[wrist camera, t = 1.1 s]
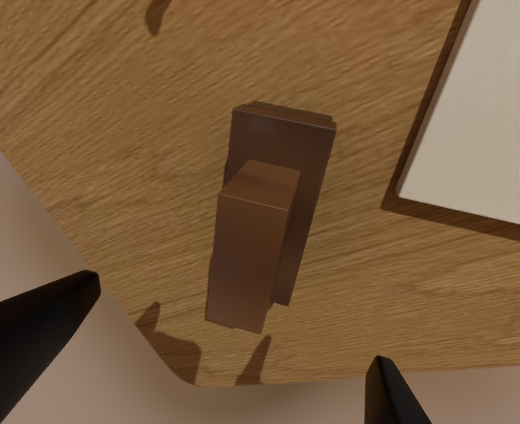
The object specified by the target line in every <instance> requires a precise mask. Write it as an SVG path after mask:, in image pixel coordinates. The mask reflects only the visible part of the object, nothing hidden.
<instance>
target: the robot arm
mask: <svg viewBox="0 0 520 424" xmlns="http://www.w3.org/2000/svg"><path fill="white" fill-rule="evenodd" d="M100 294H101V288H100V281H99V275H98V274H97V273H96V272H93V271H90V270H83V271H80V272H77V273H74V274H72V275H69V276H67V277H64V278H61V279H59V280H56V281H54V282H51V283H48V284H46V285H43V286H40V287H38V288H35V289H33V290H30V291H27V292H25V293H22V294H19V295H17V296H14V297H11V298H9V299H6V300H4V301H1V302H0V423H1V422H2V421H3V420H4V419H5V418H6V416H7V415H8V414H9V413H10V412H11V410H12V409H13V408H14V407H15V405H16V404H17V403H18V402H19V401H20V400H21V398H22V397H23V396H24V395H25V393H26V392H27V391H28V390H29V389H30V387H31V386H32V385H33V384H34V383H35V381H36V380H37V379H38V378H39V376H40V375H41V374H42V373H43V372H44V371H45V369H46V368H47V367H48V366H49V364H50V363H51V362H52V361H53V360H54V358H55V357H56V356H57V355H58V354H59V353H60V351H61V350H62V349H63V348H64V347H65V345H66V344H67V343H68V341H69V340H70V339H71V338H72V336H73V335H74V333H75V332H76V331H77V329H78V328H79V326H80V325H81V323H82V322H83V320H84V319H85V317H86V316H87V314H88V313H89V312H90V310H91V309H92V307H93V306H94V304H95V303H96V301H97V300H98V298H99V296H100ZM364 422H365V423H364V424H432V423H431V421H430V420H429V418H428V417H427V415H426V414H425V412H424V410H423V409H422V407H421V405H420V404H419V402H418V401H417V399H416V398H415V396H414V394H413V393H412V391H411V389H410V388H409V386H408V385H407V383H406V381H405V380H404V378H403V377H402V375H401V373H400V372H399V370H398V369H397V367H396V366H395V364H394V362H393V361H392V360H391V359H389V358H386V357H383V356H379V355H377V356H376V357H375V358H374V360H373V362H372V363H371V365H370V367H369V369H368V371H367V374H366V381H365V421H364Z"/></svg>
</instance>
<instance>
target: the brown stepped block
mask: <svg viewBox="0 0 520 424" xmlns="http://www.w3.org/2000/svg"><path fill="white" fill-rule="evenodd" d="M335 134H336V123H335V122H332V116H328V115H323V114H318V113H313V112H308V111H303V110H298V109H293V108H288V107H282V106H277V105H272V104H267V103H262V102H257V101H254V102H252V103H250V104H248V105H245V104H242V105H240V106H238V107H235V108H233V112H232V122H231V132H230V142H229V151H228V161H227V171H226V181H225V187H224V188H223V189H222V190H221V191H220V192H219V193H218V201H217V212H216V223H215V235H214V246H213V257H212V268H211V279H210V290H209V301H208V312H207V319H210V320H213V321H216V322H220V323H223V324H226V325H230V326H233V327H236V328H240V329H243V330H246V331H250V332H253V333H256V334H261V332H262V329H263V325H264V321H265V318H266V314H267V311H268V307H269V303H270V301H271V302H274V303H278V304H281V305H285V306H289V303H290V299H291V295H292V292H293V288H294V284H295V281H296V277H297V273H298V270H299V266H300V262H301V259H302V255H303V251H304V248H305V244H306V240H307V237H308V233H309V229H310V226H311V222H312V218H313V215H314V211H315V207H316V204H317V200H318V196H319V193H320V189H321V185H322V182H323V178H324V174H325V171H326V167H327V163H328V160H329V156H330V152H331V149H332V145H333V141H334V138H335Z"/></svg>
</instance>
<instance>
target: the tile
mask: <svg viewBox="0 0 520 424" xmlns="http://www.w3.org/2000/svg"><path fill="white" fill-rule="evenodd" d="M395 191H396V193H397V195H398V197H400V198H404V199H409V200H413V201H418V202H422V203H426V204H431V205H435V206H440V207H444V208H449V209H453V210H458V211H462V212H467V213H471V214H475V215H480V216H484V217H489V218H493V219H498V220H502V221H507V222H511V223H515V224H520V0H472V1H471V3H470V6H469V8H468V11H467V13H466V16H465V18H464V21H463V23H462V26H461V28H460V31H459V33H458V35H457V38H456V40H455V43H454V45H453V48H452V50H451V53H450V55H449V58H448V60H447V63H446V65H445V67H444V70H443V72H442V75H441V77H440V80H439V82H438V85H437V87H436V90H435V92H434V95H433V97H432V99H431V102H430V104H429V107H428V109H427V112H426V114H425V117H424V119H423V122H422V124H421V127H420V129H419V131H418V134H417V136H416V139H415V141H414V144H413V146H412V149H411V151H410V154H409V156H408V159H407V161H406V163H405V166H404V168H403V171H402V173H401V176H400V178H399V181H398V183H397V186H396V188H395Z"/></svg>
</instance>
